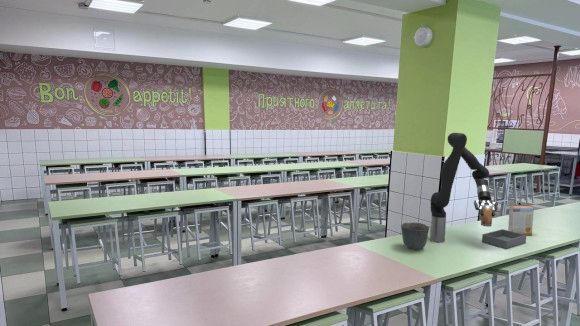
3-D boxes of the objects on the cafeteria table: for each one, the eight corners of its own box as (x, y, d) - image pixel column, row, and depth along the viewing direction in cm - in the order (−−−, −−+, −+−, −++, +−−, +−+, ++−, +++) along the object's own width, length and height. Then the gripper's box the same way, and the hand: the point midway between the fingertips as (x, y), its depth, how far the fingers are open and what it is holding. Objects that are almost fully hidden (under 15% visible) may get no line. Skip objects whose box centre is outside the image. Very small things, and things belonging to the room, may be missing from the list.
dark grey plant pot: (431, 254, 219) (432, 230, 218) (401, 252, 223) (402, 229, 221) (426, 244, 237) (427, 222, 235) (398, 243, 240) (399, 221, 238)
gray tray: (505, 249, 229) (506, 241, 228) (481, 242, 242) (482, 234, 242) (525, 243, 241) (526, 235, 240) (501, 236, 255) (502, 229, 254)
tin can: (482, 226, 227) (483, 206, 225) (479, 223, 233) (480, 204, 231) (492, 226, 225) (494, 206, 224) (490, 224, 231) (491, 204, 229)
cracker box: (527, 233, 262) (529, 205, 259) (532, 236, 256) (534, 207, 253) (507, 232, 263) (509, 205, 261) (511, 235, 257) (513, 207, 255)
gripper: (473, 189, 235) (476, 211, 225) (497, 191, 232) (501, 213, 222) (470, 196, 241) (473, 217, 231) (494, 197, 237) (498, 219, 227)
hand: (487, 215), depth 226 cm, fingers closed on tin can, 6 cm apart
